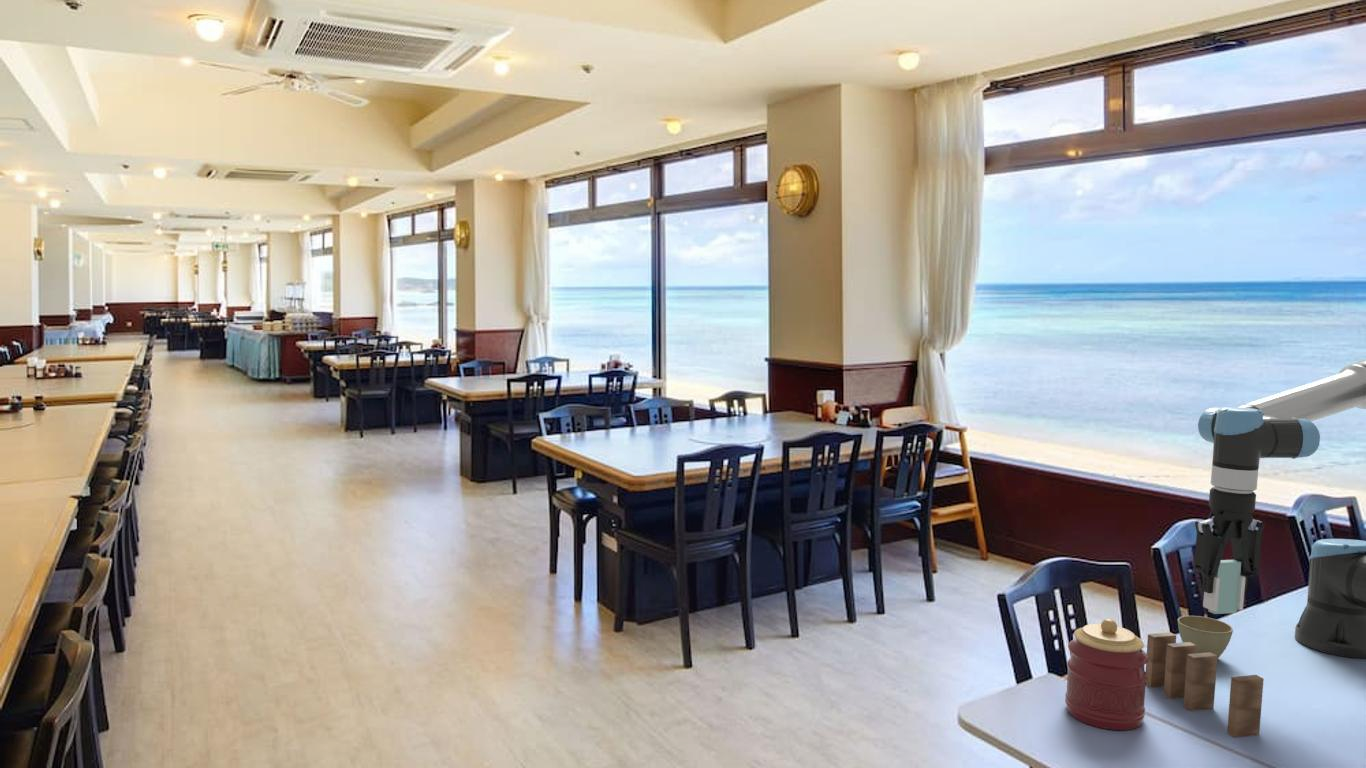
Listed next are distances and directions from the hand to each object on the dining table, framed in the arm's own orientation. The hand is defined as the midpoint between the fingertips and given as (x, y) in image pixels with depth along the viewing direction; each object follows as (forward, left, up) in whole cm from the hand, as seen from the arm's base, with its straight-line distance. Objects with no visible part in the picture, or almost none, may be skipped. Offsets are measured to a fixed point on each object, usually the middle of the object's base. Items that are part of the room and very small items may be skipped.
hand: (1222, 608), depth 174 cm
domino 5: (+11, +18, -15) cm, 26 cm away
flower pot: (-8, -12, -16) cm, 21 cm away
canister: (+30, +7, -16) cm, 35 cm away
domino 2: (+11, +3, -15) cm, 19 cm away
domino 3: (+11, +8, -15) cm, 20 cm away
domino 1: (+11, -2, -15) cm, 19 cm away
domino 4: (0, 0, -1) cm, 1 cm away
